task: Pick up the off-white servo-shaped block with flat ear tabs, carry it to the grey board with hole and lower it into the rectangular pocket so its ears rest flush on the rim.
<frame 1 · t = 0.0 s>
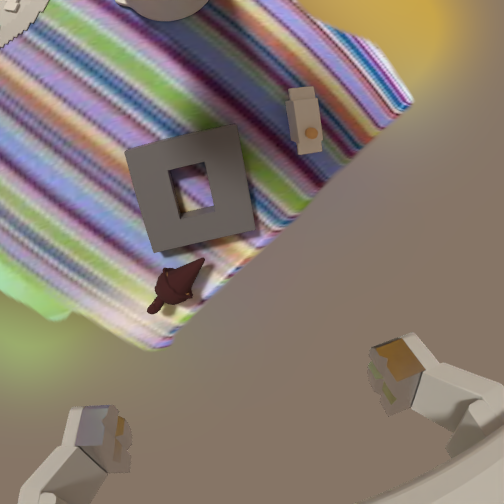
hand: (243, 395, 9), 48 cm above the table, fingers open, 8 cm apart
grey board with hole: (192, 186, 54), on the table
servo: (299, 119, 52), on the table
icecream: (176, 275, 61), on the table
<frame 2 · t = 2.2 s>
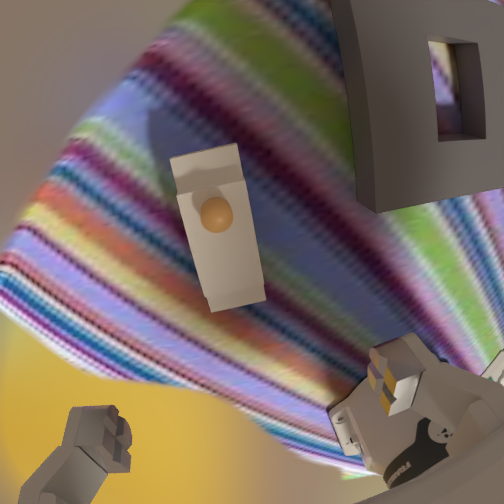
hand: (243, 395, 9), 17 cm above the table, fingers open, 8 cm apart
grey board with hole: (436, 87, 22), on the table
servo: (218, 215, 24), on the table
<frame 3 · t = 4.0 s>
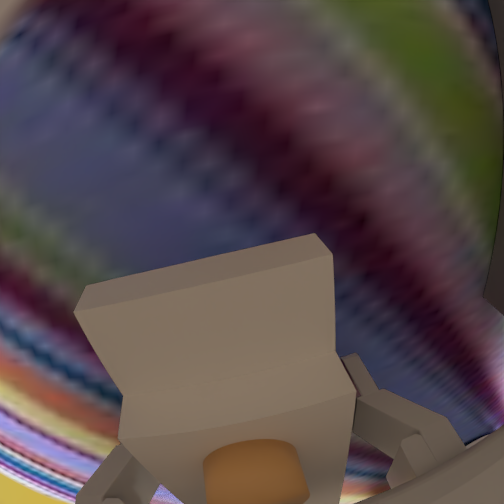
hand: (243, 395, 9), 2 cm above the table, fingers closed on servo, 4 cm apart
servo: (236, 358, 11), on the table, touching gripper
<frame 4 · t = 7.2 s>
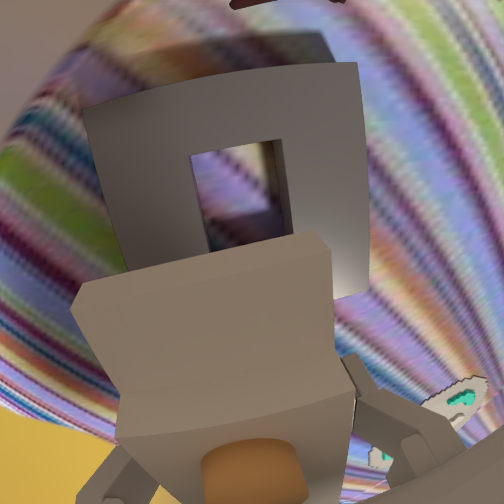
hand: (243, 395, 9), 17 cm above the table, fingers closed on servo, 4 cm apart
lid: (430, 425, 50), on the table
grey board with hole: (240, 196, 24), on the table
servo: (235, 357, 11), point 16 cm above the table, touching gripper
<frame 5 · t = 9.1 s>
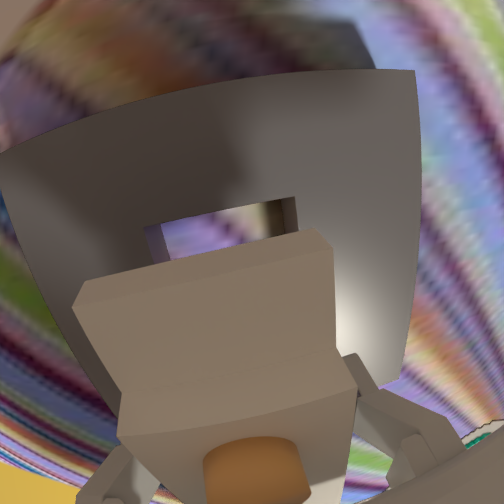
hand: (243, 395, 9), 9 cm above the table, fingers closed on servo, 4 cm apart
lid: (442, 466, 42), on the table
grey board with hole: (232, 268, 17), on the table
servo: (236, 357, 11), point 7 cm above the table, touching gripper
when the fingers open (4 cm above the table, at t = 10.7 s): servo drops 2 cm, resting on grey board with hole.
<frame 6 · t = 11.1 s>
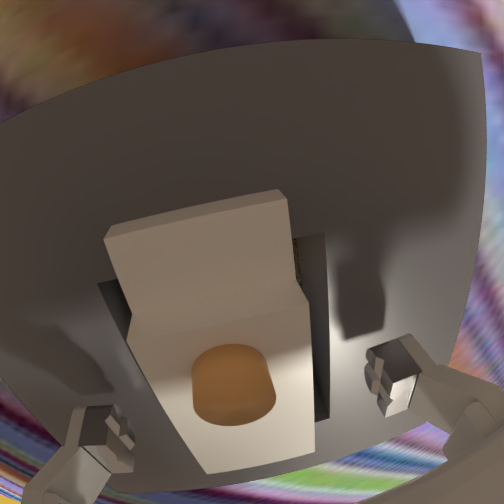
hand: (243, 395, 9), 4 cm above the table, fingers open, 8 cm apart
grey board with hole: (229, 315, 13), on the table
servo: (225, 313, 13), resting on grey board with hole
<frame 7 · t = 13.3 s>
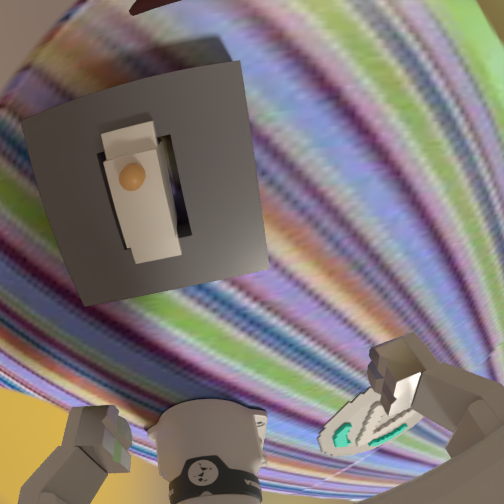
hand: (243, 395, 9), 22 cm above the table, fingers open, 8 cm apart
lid: (383, 414, 55), on the table
grey board with hole: (149, 184, 27), on the table
servo: (147, 183, 27), resting on grey board with hole
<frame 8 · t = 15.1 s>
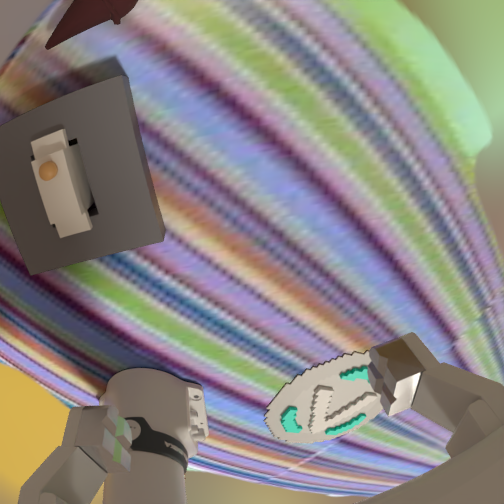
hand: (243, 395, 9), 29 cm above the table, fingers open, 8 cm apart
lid: (335, 401, 58), on the table
grey board with hole: (73, 177, 32), on the table
servo: (72, 176, 32), resting on grey board with hole
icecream: (112, 6, 25), on the table
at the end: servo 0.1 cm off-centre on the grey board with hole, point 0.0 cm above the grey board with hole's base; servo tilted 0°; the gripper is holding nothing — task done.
